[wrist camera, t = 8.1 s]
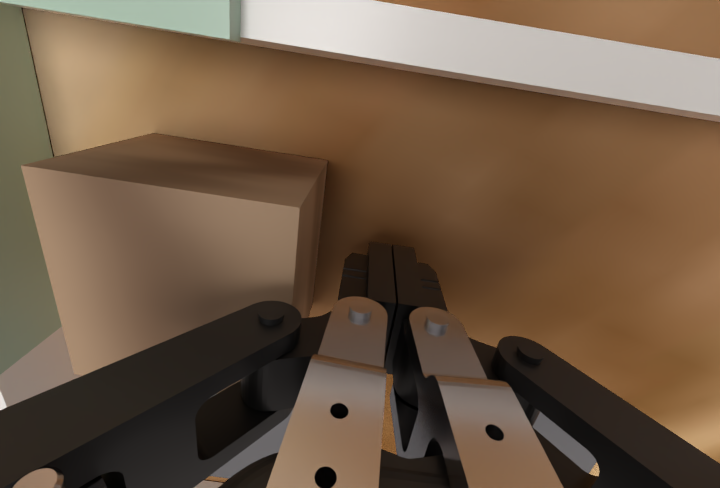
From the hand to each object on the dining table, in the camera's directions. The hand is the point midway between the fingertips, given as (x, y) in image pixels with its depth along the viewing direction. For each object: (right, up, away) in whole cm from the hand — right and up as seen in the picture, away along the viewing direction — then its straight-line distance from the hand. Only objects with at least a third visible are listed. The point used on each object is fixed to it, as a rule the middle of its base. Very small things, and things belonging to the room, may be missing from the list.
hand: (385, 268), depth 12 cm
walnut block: (-5, +1, +1) cm, 6 cm away
